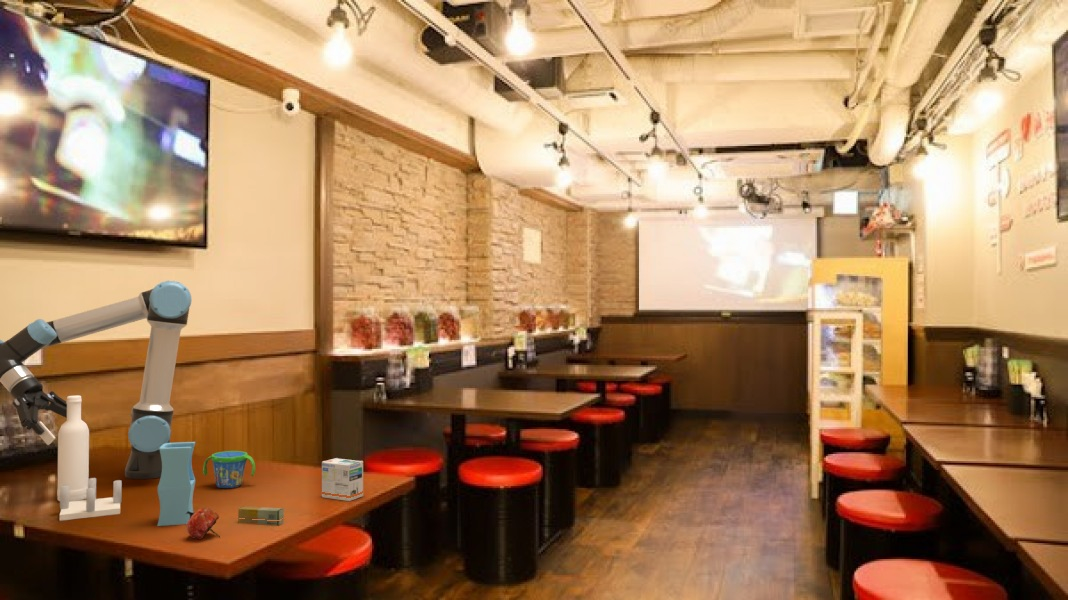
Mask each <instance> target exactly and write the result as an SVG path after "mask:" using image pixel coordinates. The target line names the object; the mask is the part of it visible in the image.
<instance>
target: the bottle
mask: <svg viewBox="0 0 1068 600" xmlns="http://www.w3.org/2000/svg"><path fill="white" fill-rule="evenodd" d="M65 401H66V403H67V418H66V421H64V422H63V423H62V424H61V425H60V428H59V430H58V433H57V492H56V495H57V501H58V502H60V486H64V485H69V502H72V501H82V500H86V489H87V488H88V479H90V478H89V477H90V476H89V475H90V474H89V473H90V471H89V465H90V463H89V462H90V461H89V460H90V429H89V427H88V424H87V423H86V422H85V421H84V420H82V401H83V399H82V396H81V395H78V394H77V395H68V396H67V397H66V400H65Z"/></svg>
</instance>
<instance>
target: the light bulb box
mask: <svg viewBox="0 0 1068 600" xmlns="http://www.w3.org/2000/svg"><path fill="white" fill-rule="evenodd" d="M362 491H363V493H362V494H360V495H357V496H354V497H351V498H346V497H339V496H332V495H325V494H322V492H325V493H331V494H339V495H347V496H351V495H353V494H357V493H360V492H362ZM361 497H364V461H363V460H354V459H353V460H352V459H345V458H338V457H336V458H332V459H328V460H323V461H321V498H325V499H333V500H339V501H345V502H351V501H353V500H356V499H359V498H361Z"/></svg>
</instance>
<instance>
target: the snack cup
mask: <svg viewBox="0 0 1068 600" xmlns="http://www.w3.org/2000/svg"><path fill="white" fill-rule="evenodd" d="M209 460H211V462H212V464H213V467H212V468H213V474H214V480H215V481H214V482H215V486H216V487H217V488H218V489H233V488H238V487H241V486H242V484H243V481H244V479H243V478H244V472H245V468H246V464H247V461H249V463H250V464H251V466H252V467H251V474H250V476H251V477H253V476H254V475H255V473H256V462H255V461H254V458H253V457H252V456H250V455H249V454H248V452H246V451H242V450H241V451H239V450H227V451H226V450H224V451H219V452H215V453H212V454H211V455H210V456H209V457H207V458H206V459H205V460H204V463H203V467H202V473H203V476H205V477H206V476H207V475H208V473H209V472H208V467H207V466H208V462H209ZM240 483H241V484H240ZM236 484H238V485H236ZM231 485H232V486H231Z"/></svg>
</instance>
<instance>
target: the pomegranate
mask: <svg viewBox="0 0 1068 600" xmlns="http://www.w3.org/2000/svg"><path fill="white" fill-rule="evenodd" d="M187 513H188V514H189V515H190V519H189V521H188V522H187V524H185V525H186V531H187V533H188V534H189V536H190V537H191V538H193V539H197V540H201V539H202V538H203V537H204V536H205V535H206V534H208V532H211V533H212V534H214V535H216V536H217V537H219V538H220V537H221V535H219V534H218V532H215V531H214V530H213V529H212V528H213V526H215V524H216V523H217V521H218V520H219V519H220V515H219V513H218V512H217V511H216V510H215V509H213V508H210V507H202V508H199V509H197V511H195V512H193V513H192V512H189V511H188V512H187ZM187 513H186V514H187Z"/></svg>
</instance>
